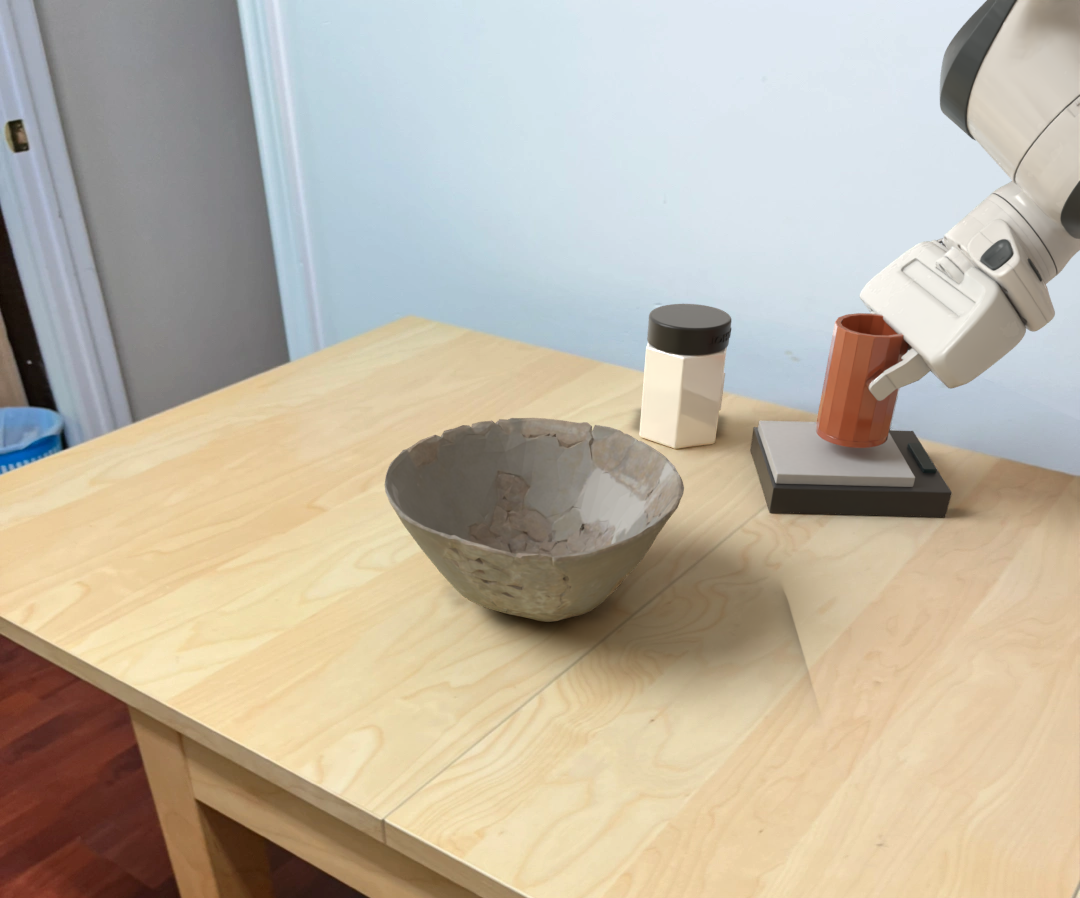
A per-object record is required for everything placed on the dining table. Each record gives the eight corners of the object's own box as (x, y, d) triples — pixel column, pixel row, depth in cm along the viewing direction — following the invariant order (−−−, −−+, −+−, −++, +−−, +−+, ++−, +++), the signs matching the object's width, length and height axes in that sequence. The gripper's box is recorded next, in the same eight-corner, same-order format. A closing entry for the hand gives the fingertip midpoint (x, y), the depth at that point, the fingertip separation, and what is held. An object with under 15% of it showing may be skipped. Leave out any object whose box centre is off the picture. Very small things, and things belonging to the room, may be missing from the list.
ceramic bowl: (458, 704, 72) (452, 579, 66) (357, 555, 88) (345, 443, 82) (729, 632, 79) (746, 513, 73) (590, 506, 96) (595, 400, 89)
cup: (878, 420, 100) (902, 314, 94) (895, 449, 95) (921, 337, 89) (810, 419, 100) (829, 312, 94) (822, 447, 95) (843, 336, 89)
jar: (715, 453, 105) (730, 333, 98) (635, 446, 106) (644, 326, 99) (720, 419, 112) (734, 305, 105) (644, 413, 113) (653, 299, 106)
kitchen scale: (907, 454, 106) (915, 421, 104) (945, 517, 95) (955, 482, 93) (750, 450, 106) (754, 417, 104) (769, 513, 95) (775, 477, 93)
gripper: (928, 205, 95) (805, 316, 101) (1026, 266, 79) (874, 394, 85) (962, 257, 98) (841, 361, 104) (1064, 325, 82) (914, 445, 88)
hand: (856, 376), depth 94 cm, fingers closed on cup, 7 cm apart
